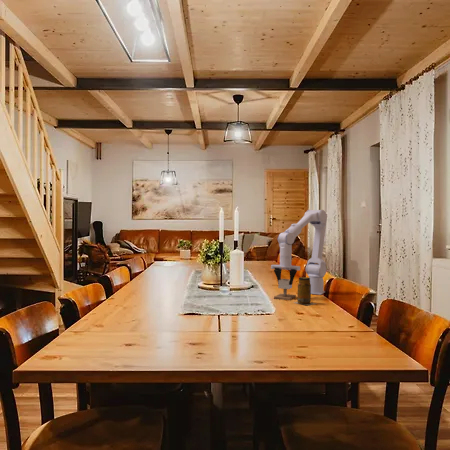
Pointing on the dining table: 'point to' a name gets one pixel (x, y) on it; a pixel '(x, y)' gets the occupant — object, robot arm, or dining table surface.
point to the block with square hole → (284, 284)
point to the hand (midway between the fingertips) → (285, 284)
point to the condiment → (304, 291)
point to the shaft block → (285, 296)
